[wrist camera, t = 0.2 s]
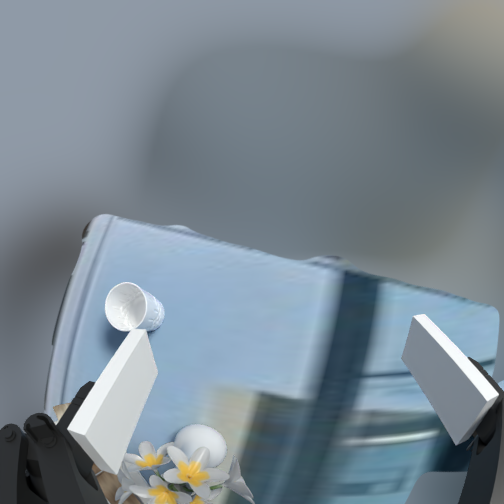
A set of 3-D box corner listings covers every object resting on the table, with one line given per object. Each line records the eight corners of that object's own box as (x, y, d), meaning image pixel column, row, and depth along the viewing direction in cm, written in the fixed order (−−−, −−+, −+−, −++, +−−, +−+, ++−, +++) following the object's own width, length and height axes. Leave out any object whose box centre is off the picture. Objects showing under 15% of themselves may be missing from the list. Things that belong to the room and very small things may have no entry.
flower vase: (267, 448, 39) (272, 526, 16) (181, 476, 37) (132, 545, 13) (234, 391, 43) (208, 437, 20) (149, 423, 41) (72, 466, 17)
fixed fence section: (150, 513, 32) (136, 530, 25) (143, 514, 32) (129, 531, 24) (108, 456, 37) (87, 468, 29) (102, 457, 37) (81, 469, 29)
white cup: (172, 299, 49) (152, 288, 40) (162, 339, 47) (140, 337, 37) (136, 289, 50) (112, 277, 40) (126, 327, 47) (99, 322, 38)
